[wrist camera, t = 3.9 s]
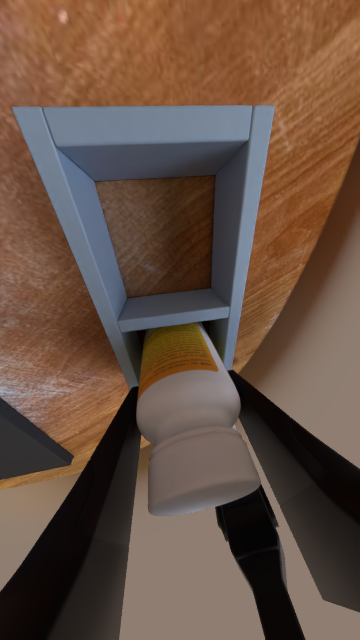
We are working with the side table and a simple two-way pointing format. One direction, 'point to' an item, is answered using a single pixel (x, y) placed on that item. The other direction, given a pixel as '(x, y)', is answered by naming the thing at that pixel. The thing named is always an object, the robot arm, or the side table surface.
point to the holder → (143, 163)
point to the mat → (26, 446)
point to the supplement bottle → (190, 423)
